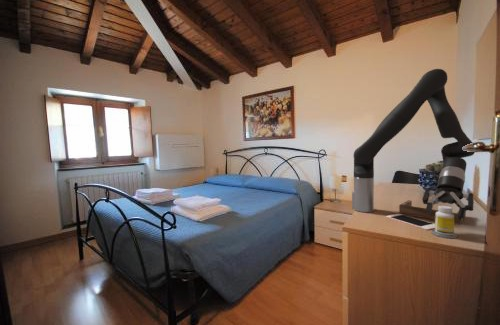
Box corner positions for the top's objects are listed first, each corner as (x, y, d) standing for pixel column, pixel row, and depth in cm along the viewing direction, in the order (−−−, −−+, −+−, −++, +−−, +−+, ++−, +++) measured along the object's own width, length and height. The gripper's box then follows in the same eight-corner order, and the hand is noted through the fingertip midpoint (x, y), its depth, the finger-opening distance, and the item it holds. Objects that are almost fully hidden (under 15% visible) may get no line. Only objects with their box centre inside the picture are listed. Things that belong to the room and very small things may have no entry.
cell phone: (427, 231, 87) (427, 229, 87) (385, 217, 104) (385, 215, 104) (441, 228, 90) (441, 225, 90) (398, 215, 107) (398, 213, 107)
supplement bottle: (457, 236, 80) (458, 209, 79) (440, 235, 81) (441, 208, 80) (447, 230, 85) (448, 205, 84) (431, 229, 86) (432, 204, 85)
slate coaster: (428, 234, 84) (428, 232, 84) (435, 229, 88) (435, 228, 87) (453, 240, 78) (453, 238, 78) (459, 235, 82) (459, 233, 82)
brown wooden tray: (408, 207, 118) (408, 200, 117) (465, 216, 101) (465, 208, 100) (399, 213, 109) (399, 205, 109) (460, 224, 92) (460, 214, 92)
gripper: (427, 173, 91) (418, 206, 85) (476, 176, 80) (470, 214, 74) (430, 184, 95) (421, 216, 89) (477, 188, 84) (471, 225, 78)
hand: (443, 215), depth 81 cm, fingers open, 8 cm apart
